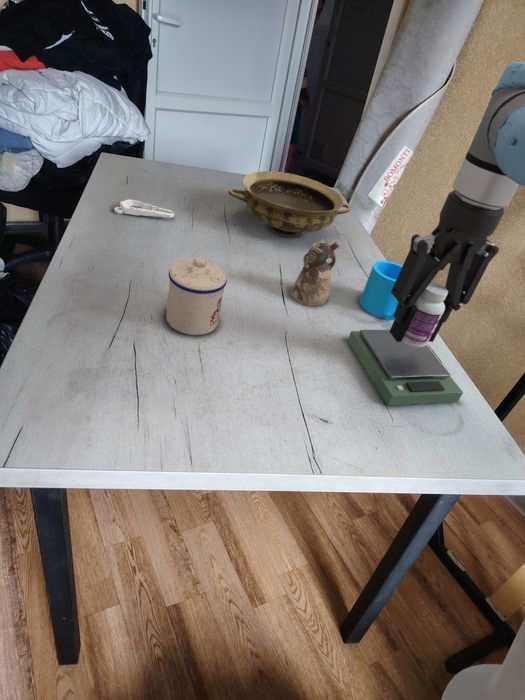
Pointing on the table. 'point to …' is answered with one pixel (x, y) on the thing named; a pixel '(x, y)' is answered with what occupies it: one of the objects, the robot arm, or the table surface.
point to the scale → (403, 381)
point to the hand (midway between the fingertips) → (411, 336)
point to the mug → (381, 290)
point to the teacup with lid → (195, 296)
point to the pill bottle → (426, 315)
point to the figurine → (315, 275)
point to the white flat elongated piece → (153, 211)
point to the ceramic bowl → (290, 202)
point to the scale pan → (403, 357)
